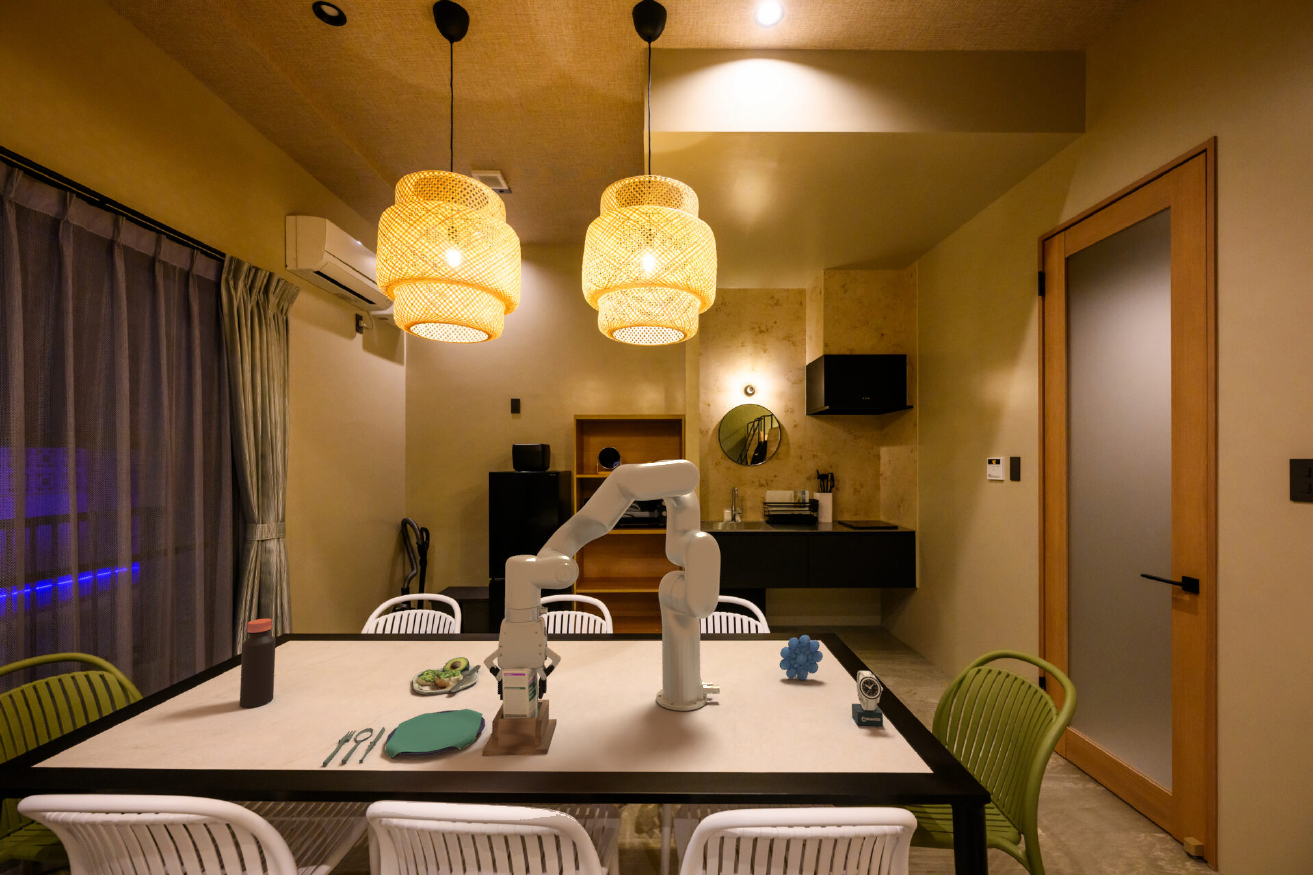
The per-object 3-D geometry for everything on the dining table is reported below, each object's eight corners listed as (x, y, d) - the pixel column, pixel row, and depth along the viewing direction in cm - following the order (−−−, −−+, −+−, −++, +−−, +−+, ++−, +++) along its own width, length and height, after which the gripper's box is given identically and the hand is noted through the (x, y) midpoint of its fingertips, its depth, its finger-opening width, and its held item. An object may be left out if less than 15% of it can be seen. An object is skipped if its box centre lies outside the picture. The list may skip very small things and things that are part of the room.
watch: (860, 730, 117) (858, 679, 117) (850, 713, 125) (848, 665, 125) (886, 731, 116) (884, 679, 117) (874, 714, 124) (873, 666, 125)
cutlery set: (478, 757, 107) (478, 745, 107) (314, 776, 101) (314, 764, 102) (490, 714, 127) (490, 704, 127) (353, 728, 121) (353, 717, 121)
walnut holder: (556, 723, 121) (556, 696, 121) (547, 753, 108) (547, 723, 108) (498, 725, 120) (498, 697, 121) (482, 755, 107) (482, 725, 108)
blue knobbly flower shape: (820, 674, 149) (819, 630, 150) (825, 683, 142) (824, 638, 143) (777, 672, 150) (776, 629, 151) (781, 682, 143) (780, 637, 144)
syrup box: (529, 740, 111) (528, 669, 112) (502, 739, 112) (501, 669, 112) (539, 727, 116) (538, 660, 117) (513, 726, 117) (513, 659, 118)
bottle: (276, 702, 133) (279, 620, 134) (242, 711, 128) (245, 626, 129) (269, 694, 138) (272, 615, 139) (236, 703, 133) (240, 621, 134)
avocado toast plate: (486, 693, 139) (486, 674, 139) (410, 705, 132) (411, 686, 132) (479, 667, 156) (480, 651, 157) (413, 677, 149) (413, 660, 150)
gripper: (565, 608, 120) (565, 688, 119) (487, 609, 119) (486, 690, 118) (560, 617, 112) (560, 703, 111) (477, 619, 112) (476, 705, 110)
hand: (522, 696), depth 115 cm, fingers open, 7 cm apart
